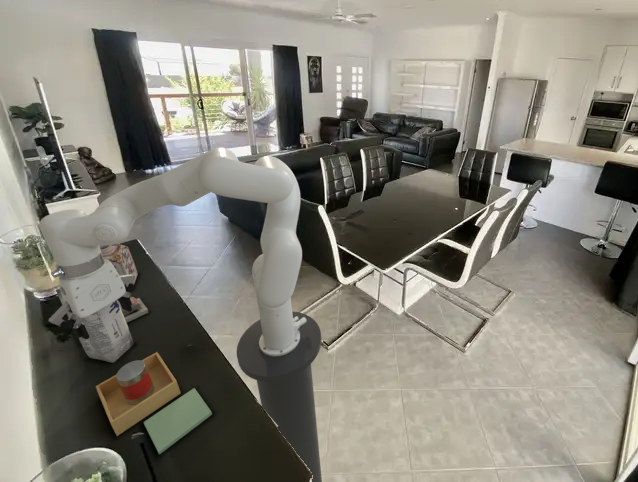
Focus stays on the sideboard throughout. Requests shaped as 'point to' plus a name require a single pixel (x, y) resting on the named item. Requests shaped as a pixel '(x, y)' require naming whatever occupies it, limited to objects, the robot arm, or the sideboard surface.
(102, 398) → the open wooden box
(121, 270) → the decorative jar
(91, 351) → the juice carton
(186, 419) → the mat
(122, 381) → the can
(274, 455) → the sideboard surface
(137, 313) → the packaged product
